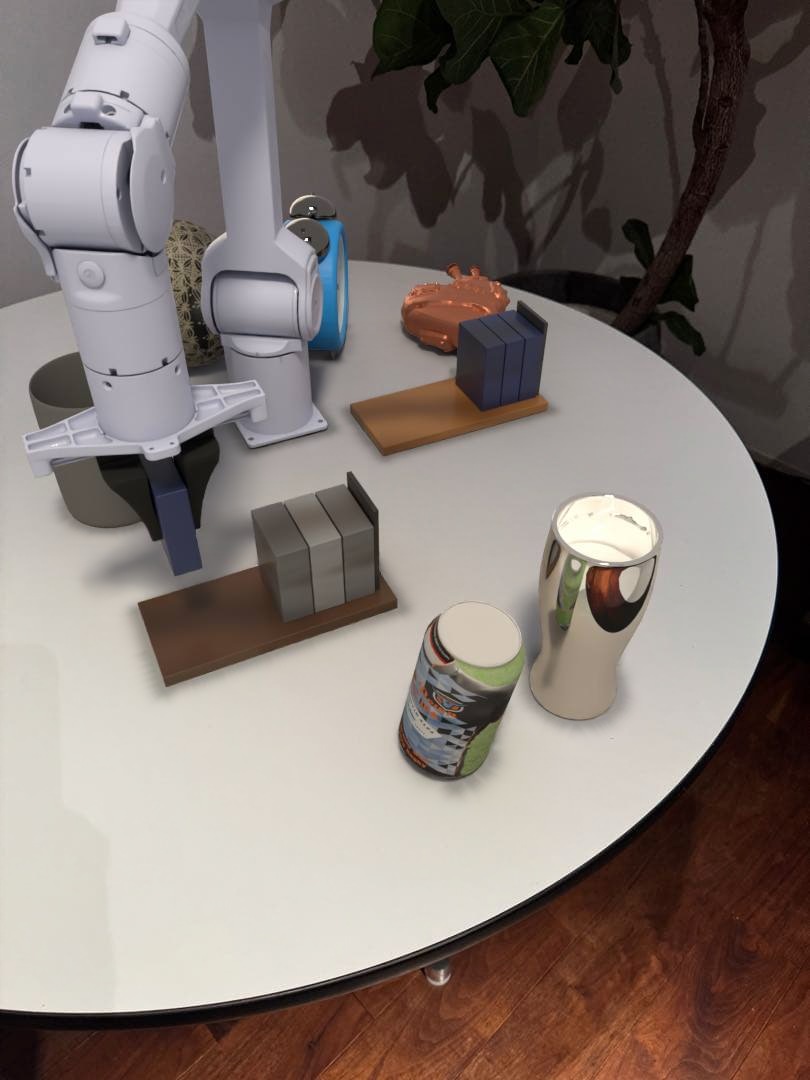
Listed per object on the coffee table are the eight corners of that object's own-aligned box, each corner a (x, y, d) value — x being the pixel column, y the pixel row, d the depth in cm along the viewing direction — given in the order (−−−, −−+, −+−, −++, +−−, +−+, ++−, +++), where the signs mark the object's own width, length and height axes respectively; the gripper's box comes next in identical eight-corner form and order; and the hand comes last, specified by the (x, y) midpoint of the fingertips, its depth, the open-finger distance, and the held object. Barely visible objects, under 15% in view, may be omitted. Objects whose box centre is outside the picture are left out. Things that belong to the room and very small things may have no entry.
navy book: (154, 528, 62) (134, 449, 57) (182, 520, 63) (165, 441, 58) (174, 577, 59) (155, 497, 54) (203, 568, 59) (187, 488, 54)
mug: (173, 522, 74) (146, 403, 66) (61, 536, 73) (19, 416, 64) (171, 430, 84) (147, 317, 76) (72, 441, 82) (37, 327, 74)
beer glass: (560, 741, 58) (595, 583, 48) (504, 668, 63) (525, 509, 52) (642, 702, 60) (692, 544, 50) (583, 635, 65) (617, 477, 55)
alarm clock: (339, 375, 91) (333, 236, 81) (281, 373, 92) (267, 234, 81) (350, 314, 101) (345, 183, 91) (297, 313, 101) (286, 182, 91)
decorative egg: (265, 376, 91) (249, 236, 81) (152, 399, 88) (121, 256, 78) (237, 324, 99) (219, 192, 89) (132, 344, 96) (102, 208, 86)
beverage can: (394, 711, 60) (395, 589, 52) (500, 705, 60) (517, 583, 52) (402, 793, 55) (404, 673, 47) (517, 785, 56) (538, 665, 48)
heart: (530, 305, 90) (486, 248, 101) (418, 326, 89) (385, 266, 100) (529, 356, 94) (487, 295, 105) (421, 377, 93) (390, 313, 103)
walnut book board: (139, 611, 66) (114, 522, 60) (356, 543, 72) (353, 456, 66) (165, 687, 61) (140, 598, 55) (397, 607, 67) (398, 519, 61)
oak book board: (350, 412, 86) (346, 330, 80) (506, 371, 92) (514, 292, 86) (383, 456, 81) (382, 372, 75) (547, 410, 87) (559, 329, 81)
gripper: (9, 416, 45) (74, 597, 54) (275, 355, 50) (293, 531, 59) (-7, 352, 50) (55, 529, 59) (237, 302, 55) (260, 473, 64)
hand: (173, 526), depth 59 cm, fingers closed on navy book, 2 cm apart
